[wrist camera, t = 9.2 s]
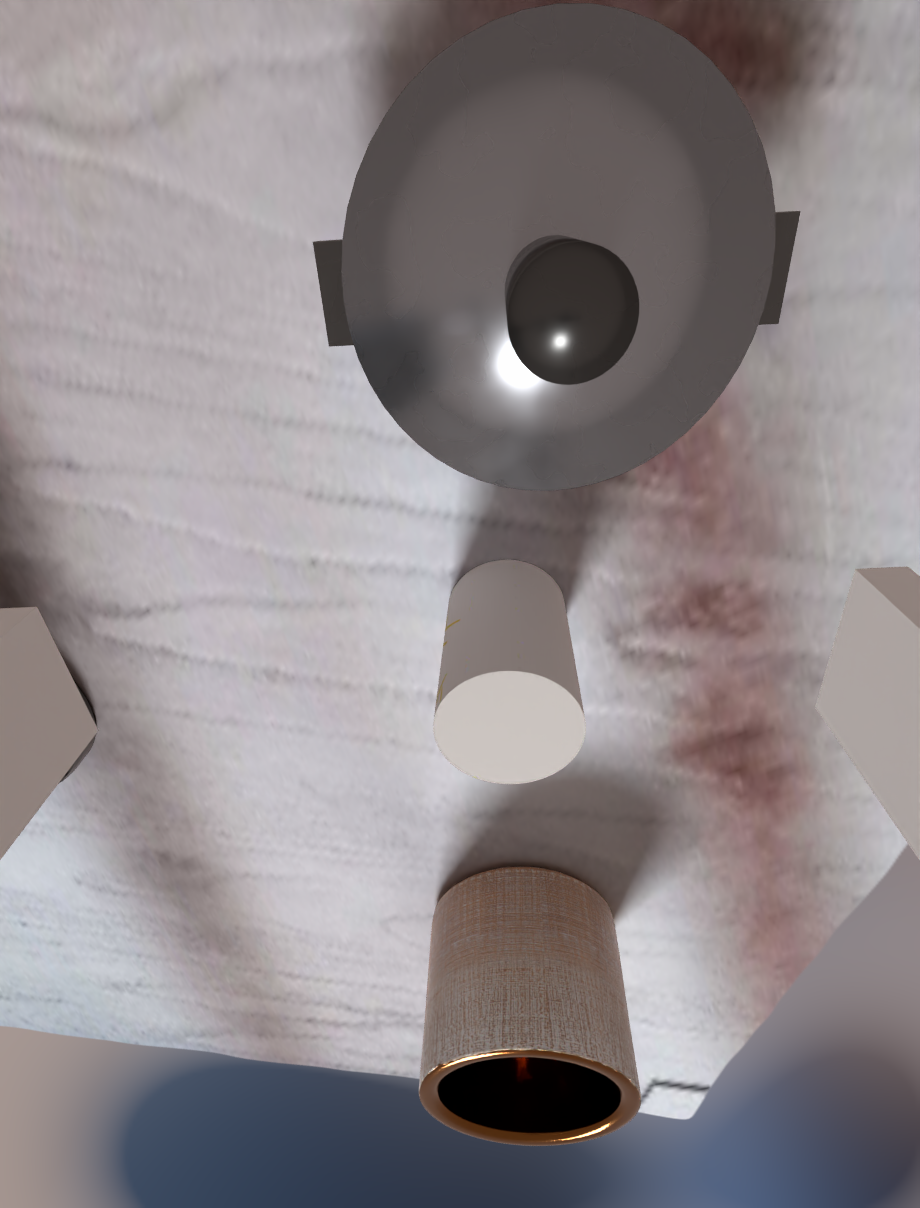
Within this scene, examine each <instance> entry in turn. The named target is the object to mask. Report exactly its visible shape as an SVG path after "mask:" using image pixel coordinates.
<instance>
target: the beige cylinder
mask: <svg viewBox="0 0 920 1208" xmlns="http://www.w3.org/2000/svg"><path fill="white" fill-rule="evenodd" d="M433 731H434V737H435V741H436V743H437V746H438V748H439V750H440V751H441V753H442V754H443V755H444V757H445V758H446V759H447V760H448V761H449V762H450V763H451V764H452V765H453V766H455V767H456V768H457V769H459V770H460V771H462V772H464V773H465V774H467V775H469V776H472V777H474V778H477V779H480V780H483V781H487V782H492V783H498V784H522V783H529V782H533V781H537V780H540V779H543V778H546V777H548V776H551V775H553V774H555V773H556V772H558V771H560V770H561V769H563V768H564V767H565V766H566V765H568V764H569V763H570V762H571V761H572V760H573V759H574V757H575V756H576V755H577V754H578V752H579V750H580V749H581V747H582V744H583V742H584V738H585V733H586V723H585V717H584V711H583V705H582V700H581V694H580V688H579V682H578V677H577V671H576V665H575V659H574V654H573V648H572V642H571V637H570V631H569V625H568V619H567V614H566V608H565V602H564V598H563V594H562V592H561V590H560V588H559V586H558V584H557V583H556V582H555V580H554V579H553V578H552V577H551V576H550V575H549V574H548V573H546V572H545V571H544V570H542V569H540V568H539V567H537V566H535V565H532V564H530V563H527V562H523V561H518V560H496V561H491V562H487V563H484V564H482V565H479V566H477V567H475V568H473V569H472V570H470V571H469V572H468V573H466V574H465V575H464V576H463V577H462V578H461V579H460V580H459V581H458V583H457V584H456V585H455V587H454V589H453V591H452V593H451V596H450V599H449V605H448V613H447V620H446V628H445V636H444V644H443V652H442V660H441V668H440V676H439V684H438V692H437V700H436V707H435V715H434V723H433Z"/></svg>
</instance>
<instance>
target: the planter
mask: <svg viewBox="0 0 920 1208" xmlns="http://www.w3.org/2000/svg"><path fill="white" fill-rule="evenodd" d="M419 1096H420V1100H421V1102H422V1105H423V1106H424V1108H425V1109H426V1110H427V1111H428V1113H430V1115H432V1116H433V1117H434V1118H435V1119H437V1120H438V1121H439V1122H441V1123H443V1124H444V1125H446V1126H448V1127H450V1128H452V1129H454V1130H456V1131H459V1132H461V1133H464V1134H467V1135H470V1136H473V1137H476V1138H480V1139H484V1140H488V1141H494V1142H499V1143H505V1144H514V1145H530V1146H550V1145H564V1144H572V1143H578V1142H583V1141H587V1140H592V1139H595V1138H598V1137H602V1136H605V1135H607V1134H610V1133H612V1132H614V1131H616V1130H618V1129H619V1128H621V1127H623V1126H624V1125H626V1124H627V1123H628V1122H630V1121H631V1120H632V1119H633V1118H634V1116H635V1115H636V1114H637V1112H638V1111H639V1108H640V1105H641V1094H640V1087H639V1080H638V1074H637V1068H636V1062H635V1055H634V1049H633V1043H632V1036H631V1030H630V1023H629V1017H628V1010H627V1003H626V996H625V990H624V983H623V976H622V969H621V962H620V955H619V949H618V942H617V936H616V930H615V924H614V920H613V917H612V913H611V911H610V908H609V906H608V904H607V903H606V901H605V900H604V899H603V898H602V896H601V895H600V894H599V893H597V892H596V891H595V890H594V889H593V888H591V887H590V886H588V885H587V884H585V883H584V882H582V881H580V880H578V879H576V878H574V877H571V876H569V875H566V874H563V873H561V872H557V871H553V870H549V869H543V868H536V867H504V868H497V869H493V870H488V871H485V872H481V873H478V874H475V875H473V876H471V877H468V878H466V879H464V880H463V881H461V882H459V883H457V884H456V885H454V886H453V887H452V888H450V889H449V890H448V891H447V892H446V893H445V894H444V895H443V896H442V898H441V899H440V900H439V902H438V904H437V906H436V909H435V912H434V917H433V922H432V931H431V943H430V956H429V969H428V983H427V997H426V1010H425V1023H424V1035H423V1047H422V1059H421V1070H420V1083H419Z"/></svg>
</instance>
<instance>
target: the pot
mask: <svg viewBox="0 0 920 1208" xmlns="http://www.w3.org/2000/svg"><path fill="white" fill-rule="evenodd" d="M799 216H800V211H787V212H775V252H774V260H773V268H772V276H771V281H770V285H769V289H768V294H767V298H766V302H765V306H764V310H763V313H762V315H761V318H760V321H759V324H758V325H761V324H778V323H779V318H780V313H781V308H782V303H783V297H784V292H785V287H786V282H787V277H788V272H789V267H790V262H791V257H792V251H793V246H794V241H795V236H796V231H797V226H798V221H799ZM313 245H314V252H315V258H316V265H317V271H318V278H319V284H320V291H321V297H322V304H323V310H324V317H325V323H326V330H327V336H328V343H329V346H346V345H354V343H353V340H352V337H351V334H350V331H349V326H348V321H347V316H346V311H345V306H344V298H343V285H342V273H341V269H342V240H327V241H316V242H313Z"/></svg>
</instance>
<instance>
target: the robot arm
mask: <svg viewBox="0 0 920 1208" xmlns="http://www.w3.org/2000/svg"><path fill="white" fill-rule="evenodd" d="M815 708H816V709H817V711H818V712H819V714H820V715H821V717H822V718H823V720H824V721H825V723H826V724H827V726H828V727H829V728H830V730H831V731H832V733H833V734H834V736H835V737H836V739H837V740H838V742H839V743H840V745H841V746H842V747H843V749H844V750H845V752H846V753H847V755H848V756H849V758H850V759H851V761H852V762H853V764H854V765H855V766H856V768H857V769H858V771H859V772H860V774H861V775H862V777H863V778H864V780H865V781H866V783H867V784H868V786H869V787H870V788H871V790H872V791H873V793H874V794H875V796H876V797H877V799H878V800H879V802H880V803H881V805H882V806H883V807H884V809H885V810H886V812H887V813H888V815H889V816H890V818H891V819H892V821H893V822H894V824H895V825H896V826H897V828H898V829H899V831H900V832H901V834H902V835H903V837H904V838H905V840H906V841H907V843H908V844H909V845H910V847H911V848H912V850H913V851H914V853H915V854H916V856H917V857H918V858H919V860H920V576H919V575H917V574H916V573H915V572H914V571H912V570H911V569H910V568H909V567H889V568H867V569H855V572H854V576H853V579H852V582H851V586H850V589H849V593H848V596H847V600H846V603H845V606H844V610H843V613H842V617H841V620H840V624H839V627H838V631H837V634H836V637H835V641H834V644H833V648H832V651H831V655H830V658H829V662H828V665H827V668H826V672H825V675H824V679H823V682H822V686H821V689H820V692H819V696H818V699H817V703H816V706H815ZM97 732H98V729H97V727H96V725H95V719H94V715H93V712H92V710H91V707H90V705H89V703H88V701H87V699H86V698H85V696H84V694H83V693H82V692H81V690H80V689H79V687H78V686H77V685H76V684H75V682H74V680H73V678H72V676H71V674H70V672H69V670H68V668H67V666H66V664H65V662H64V660H63V658H62V656H61V654H60V652H59V650H58V648H57V646H56V644H55V642H54V640H53V638H52V636H51V634H50V632H49V630H48V628H47V626H46V624H45V622H44V620H43V618H42V616H41V614H40V612H39V610H38V608H37V607H22V608H1V609H0V860H1V858H2V857H3V856H4V854H5V853H6V852H7V850H8V849H9V848H10V846H11V845H12V844H13V842H14V841H15V840H16V838H17V837H18V836H19V835H20V833H21V832H22V831H23V829H24V828H25V827H26V825H27V824H28V823H29V821H30V820H31V819H32V817H33V816H34V815H35V813H36V812H37V811H38V810H39V808H40V807H41V806H42V804H43V803H44V802H45V800H46V799H47V798H48V796H49V795H50V794H51V792H52V791H53V790H54V788H55V787H56V786H57V785H58V783H60V782H61V781H63V780H64V779H66V778H67V777H68V776H69V775H70V774H71V773H72V772H73V771H74V770H75V769H76V768H77V767H78V765H79V764H80V763H81V761H82V760H83V759H84V757H85V756H86V755H87V754H88V752H89V751H90V749H91V747H92V745H93V743H94V740H95V735H96V733H97Z"/></svg>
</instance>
